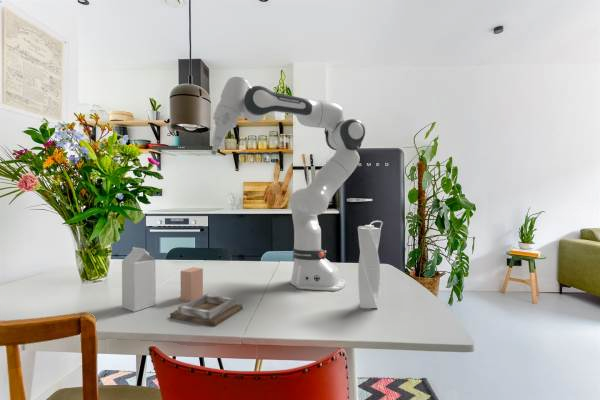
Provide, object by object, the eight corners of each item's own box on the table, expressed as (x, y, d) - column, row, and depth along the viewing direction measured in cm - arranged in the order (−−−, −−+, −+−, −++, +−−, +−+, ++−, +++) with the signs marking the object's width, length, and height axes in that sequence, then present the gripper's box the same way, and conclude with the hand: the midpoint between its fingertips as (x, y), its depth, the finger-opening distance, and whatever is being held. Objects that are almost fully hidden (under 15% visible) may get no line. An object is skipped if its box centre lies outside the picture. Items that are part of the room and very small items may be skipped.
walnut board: (242, 308, 97) (242, 298, 97) (214, 326, 84) (214, 314, 84) (201, 302, 103) (201, 292, 103) (170, 317, 90) (170, 306, 90)
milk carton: (134, 312, 94) (134, 250, 93) (121, 307, 97) (121, 248, 97) (155, 305, 100) (155, 247, 99) (143, 301, 103) (143, 245, 103)
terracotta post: (202, 296, 109) (202, 268, 109) (191, 301, 103) (190, 272, 103) (192, 294, 110) (192, 267, 110) (180, 300, 105) (180, 271, 105)
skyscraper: (380, 302, 103) (381, 219, 102) (383, 310, 95) (383, 221, 95) (357, 301, 104) (357, 219, 104) (357, 309, 97) (358, 221, 96)
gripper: (237, 114, 106) (223, 151, 104) (231, 127, 125) (220, 158, 124) (219, 107, 104) (205, 145, 103) (216, 121, 123) (204, 153, 122)
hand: (213, 152), depth 113 cm, fingers open, 8 cm apart
